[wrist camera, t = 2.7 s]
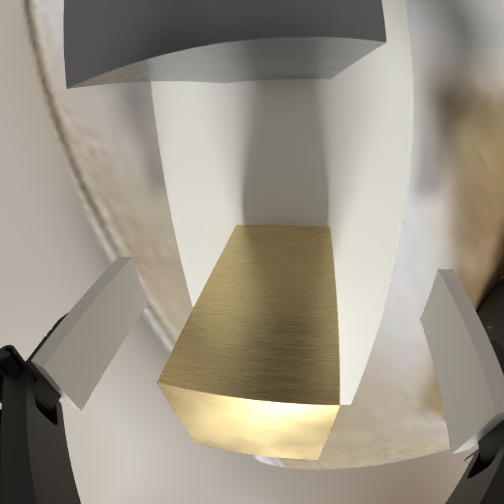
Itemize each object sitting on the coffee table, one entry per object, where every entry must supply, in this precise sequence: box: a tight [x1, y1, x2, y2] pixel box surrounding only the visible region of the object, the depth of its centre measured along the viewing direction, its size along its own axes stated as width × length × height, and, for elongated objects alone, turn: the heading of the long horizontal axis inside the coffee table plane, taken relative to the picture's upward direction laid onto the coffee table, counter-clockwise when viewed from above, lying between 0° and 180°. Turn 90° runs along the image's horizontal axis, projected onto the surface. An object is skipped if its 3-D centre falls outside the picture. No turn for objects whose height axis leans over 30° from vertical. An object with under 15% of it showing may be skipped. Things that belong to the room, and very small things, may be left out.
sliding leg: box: [157, 225, 340, 460], centre depth 10 cm, size 4×4×8 cm
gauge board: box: [151, 0, 414, 405], centre depth 14 cm, size 28×11×2 cm, turn 4°
